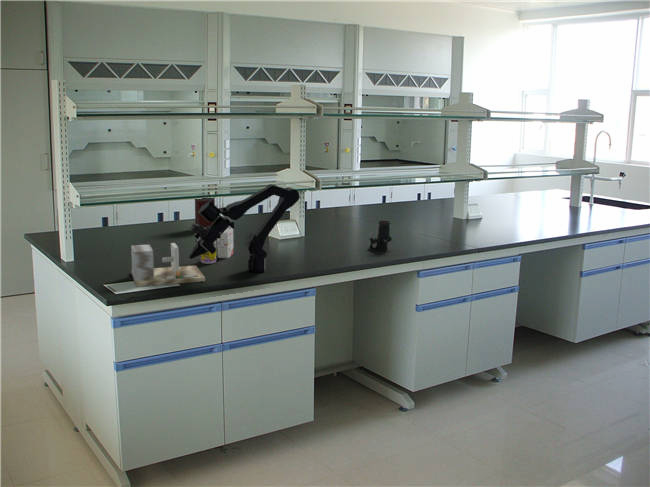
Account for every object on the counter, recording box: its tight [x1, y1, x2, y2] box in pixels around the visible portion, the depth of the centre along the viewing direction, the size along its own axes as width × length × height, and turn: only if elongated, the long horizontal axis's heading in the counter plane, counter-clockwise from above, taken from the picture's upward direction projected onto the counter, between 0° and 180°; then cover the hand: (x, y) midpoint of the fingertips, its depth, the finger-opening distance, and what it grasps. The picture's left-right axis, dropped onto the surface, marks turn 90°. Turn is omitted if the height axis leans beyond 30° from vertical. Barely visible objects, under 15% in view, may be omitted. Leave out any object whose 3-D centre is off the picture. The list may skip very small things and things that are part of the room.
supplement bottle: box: [200, 240, 217, 265], centre depth 280 cm, size 7×7×13 cm
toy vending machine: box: [194, 197, 216, 228], centre depth 342 cm, size 9×11×28 cm
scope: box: [368, 220, 393, 252], centre depth 313 cm, size 8×14×10 cm
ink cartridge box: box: [216, 226, 234, 259], centre depth 291 cm, size 9×5×15 cm, turn 170°
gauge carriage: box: [161, 242, 180, 276], centre depth 254 cm, size 6×13×11 cm, turn 22°
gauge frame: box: [130, 244, 206, 287], centre depth 256 cm, size 26×19×12 cm
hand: (189, 258), depth 259 cm, fingers closed
